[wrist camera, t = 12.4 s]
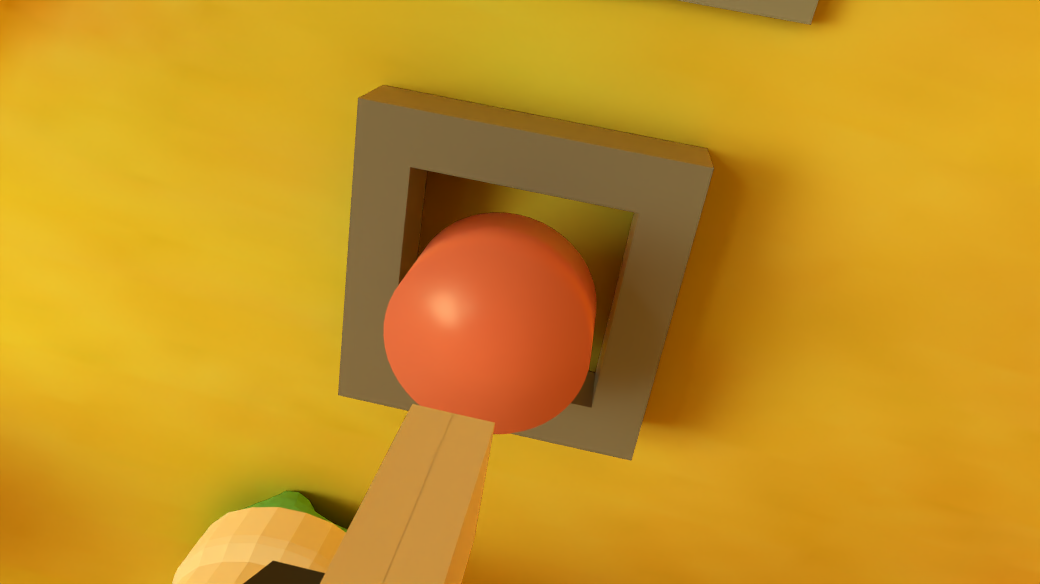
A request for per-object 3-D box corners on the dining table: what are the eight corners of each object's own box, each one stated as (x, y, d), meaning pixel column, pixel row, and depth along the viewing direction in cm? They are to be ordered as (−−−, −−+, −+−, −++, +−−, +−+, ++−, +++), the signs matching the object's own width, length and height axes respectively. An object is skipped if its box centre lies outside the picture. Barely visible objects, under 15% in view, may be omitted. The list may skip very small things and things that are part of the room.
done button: (403, 361, 21) (375, 409, 19) (421, 195, 19) (392, 227, 17) (576, 398, 21) (568, 453, 19) (614, 234, 19) (611, 272, 17)
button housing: (360, 362, 25) (338, 395, 23) (382, 84, 21) (357, 98, 19) (632, 422, 24) (631, 460, 22) (707, 148, 20) (713, 168, 18)
